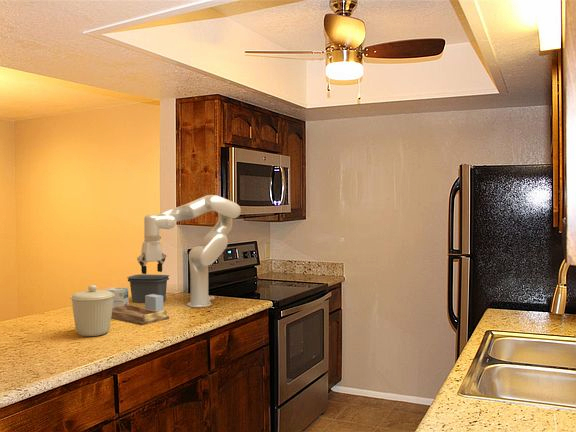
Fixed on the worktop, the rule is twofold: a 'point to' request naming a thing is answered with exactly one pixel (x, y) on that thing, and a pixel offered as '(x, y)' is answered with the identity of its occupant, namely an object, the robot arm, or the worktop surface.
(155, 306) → the panel block
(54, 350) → the worktop surface
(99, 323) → the canister
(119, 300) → the light bulb box
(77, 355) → the worktop surface
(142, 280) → the storage bin
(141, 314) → the board
